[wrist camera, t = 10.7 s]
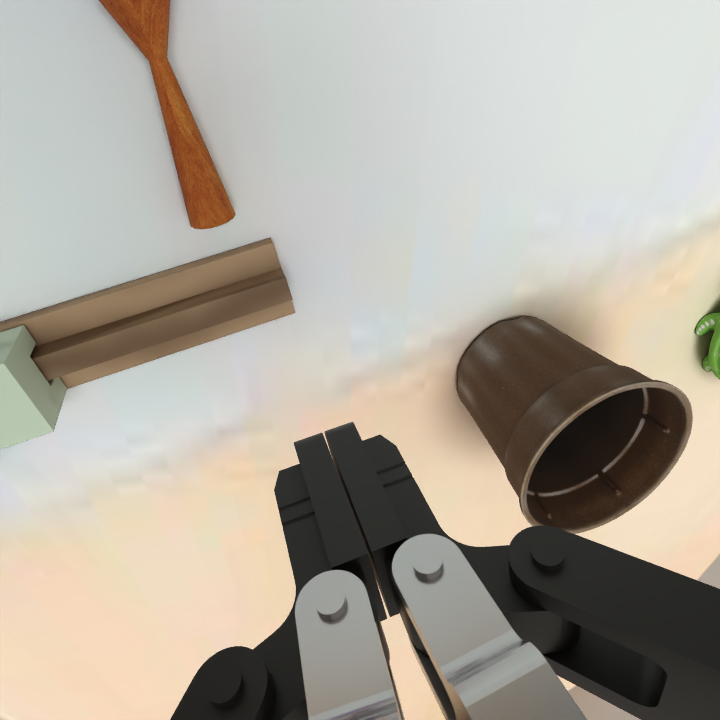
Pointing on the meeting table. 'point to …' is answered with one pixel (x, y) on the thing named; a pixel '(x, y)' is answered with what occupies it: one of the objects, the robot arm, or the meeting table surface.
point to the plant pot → (571, 423)
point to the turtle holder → (716, 359)
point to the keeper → (25, 391)
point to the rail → (157, 314)
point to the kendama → (175, 112)
